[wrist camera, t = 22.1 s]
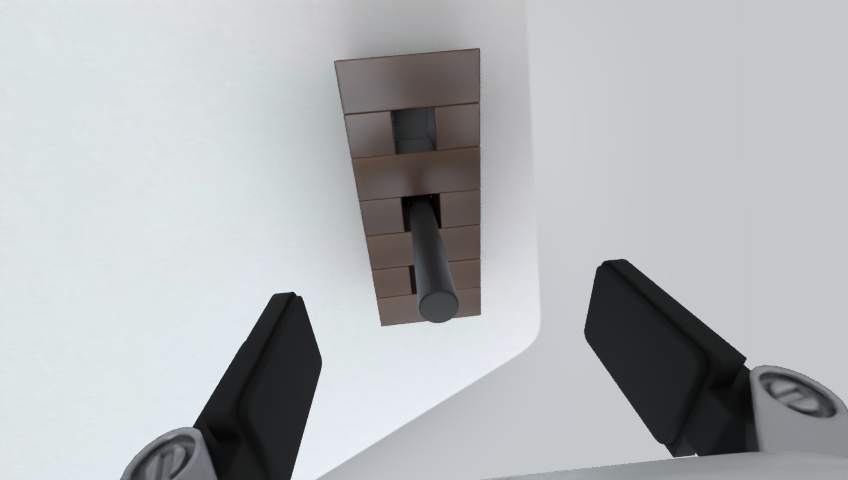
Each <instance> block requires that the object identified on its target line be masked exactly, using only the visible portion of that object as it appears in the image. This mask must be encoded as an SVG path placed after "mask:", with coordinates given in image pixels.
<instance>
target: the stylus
mask: <svg viewBox="0 0 848 480" xmlns="http://www.w3.org/2000/svg"><path fill="white" fill-rule="evenodd" d="M408 201H409V212H410V223H411V233H412V244H413V255H414V266H415V277H416V288H417V298H418V309H419V312H420V314H421V316H422V317H423V318H424V319H426V320H427V321H429V322H433V323H442V322H446V321H448V320H450V319H452V318H453V317H454V316H455V315H456V313H457V312H458V309H459V300H458V296H457V293H456V289H455V286H454V282H453V279H452V275H451V271H450V268H449V264H448V261H447V257H446V254H445V250H444V247H443V243H442V240H441V236H440V233H439V229H438V226H437V222H436V219H435V215H434V211H433V208H432V204H431V201H430V197H429V194H424V195H414V196H408Z"/></svg>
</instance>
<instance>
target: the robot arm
mask: <svg viewBox="0 0 848 480" xmlns="http://www.w3.org/2000/svg"><path fill="white" fill-rule="evenodd" d="M584 334H585V338H586V340H587V342H588V343H589V345H590V346H591V348H592V349H593V351H594V352H595V353H596V355H597V356H598V358H599V359H600V361H601V362H602V363H603V365H604V366H605V368H606V369H607V371H608V372H609V373H610V375H611V376H612V378H613V379H614V381H615V382H616V383H617V385H618V386H619V388H620V389H621V391H622V392H623V394H624V395H625V396H626V398H627V399H628V401H629V402H630V404H631V405H632V406H633V408H634V409H635V411H636V412H637V413H638V415H639V416H640V417H641V419H642V421H643V422H644V424H645V425H646V426H647V428H648V429H649V431H650V432H651V434H652V435H653V436H654V438H655V439H656V440H657V441H658V442H659V443H661V444H664V445H665V446H666V448H667V449H668V450H669V452H670V453H671V455H672V456H673V457H682V456H691V455H695V453H696V454H697V455H698V456H699V457H688V458H678V459H668V460H658V461H649V462H640V463H630V464H621V465H611V466H602V467H592V468H583V469H573V470H565V471H555V472H546V473H538V474H528V475H519V476H510V477H501V478H492V479H484V480H848V409H847V407H846V406H845V404H844V403H843V401H842V400H841V399H840V398H839V397H837V395H835V394H834V393H833V392H832V391H831V390H829V389H828V388H826V387H825V386H823V385H822V384H820V383H819V382H817V381H815V380H813V379H811V378H809V377H807V376H805V375H803V374H801V373H798V372H795V371H793V370H790V369H786V368H782V367H778V366H768V365H763V366H758V367H755V368H754V369H753V370H749V369H748V368H747V367H746V366H745V365H743V364H744V363H745V361H746V357H744V356H743V355H742V354H741V353H740V352H738V351H737V350H736V349H735V348H734V347H732V346H731V345H730V344H729V343H727V342H726V341H725V340H724V339H722V338H721V337H720V336H719V335H718V334H716V333H715V332H714V331H713V330H712V329H710V328H709V327H708V326H707V325H705V324H704V323H703V322H702V321H701V320H699V319H698V318H697V317H696V316H694V315H693V314H692V313H690V311H688V310H687V309H686V308H685V307H683V306H682V305H681V304H680V303H678V302H677V301H676V300H675V299H673V298H672V297H671V296H670V295H668V294H667V293H666V292H665V291H664V290H662V289H661V288H660V287H659V286H658V285H656V284H655V283H654V282H653V281H652V280H650V279H649V278H648V277H646V276H645V275H644V274H643V273H642V272H641V271H639V270H638V269H637V268H636V267H634V266H633V265H632V264H631V263H629V262H628V261H627V260H625V259H618V260H608V261H604V262H603V263H602V265H601V266H599V267H598V268H597V270H596V275H595V279H594V284H593V289H592V294H591V299H590V304H589V309H588V314H587V319H586V324H585V329H584ZM321 367H322V359H321V355H320V352H319V349H318V345H317V342H316V339H315V336H314V333H313V330H312V326H311V323H310V320H309V317H308V314H307V311H306V308H305V304H304V301H303V299H302V297H301V296H297V295H296V294H295V293H294V292H288V293H278V294H274V295H273V296H272V297H271V299H270V301H269V303H268V304H267V306H266V308H265V309H264V311H263V313H262V314H261V316H260V318H259V319H258V321H257V323H256V324H255V326H254V328H253V329H252V331H251V333H250V335H249V336H248V338H247V340H246V341H245V342H244V343H243V344H242V346H241V347H240V349H239V350H238V352H237V354H236V355H235V357H234V359H233V360H232V362H231V364H230V365H229V367H228V369H227V370H226V372H225V374H224V375H223V377H222V379H221V380H220V382H219V384H218V385H217V387H216V389H215V390H214V392H213V394H212V395H211V397H210V399H209V400H208V402H207V404H206V405H205V407H204V409H203V410H202V412H201V414H200V415H199V417H198V419H197V420H196V422H195V424H194V425H193V427H182V428H179V429H175V430H172V431H169V432H167V433H165V434H163V435H161V436H160V437H158V438H156V439H155V440H154V441H152V442H151V443H149V444H148V445H147V446H145V447H144V448H143V449H142V450H141V451H140V452H139V453H138V454H137V455H136V456H135V457H134V458H133V460H132V461H131V462H130V463H129V465H128V466H127V467H126V469H125V471H124V473H123V475H122V477H121V479H120V480H290V479H291V476H292V472H293V469H294V465H295V462H296V458H297V454H298V451H299V447H300V444H301V440H302V436H303V433H304V429H305V426H306V422H307V418H308V415H309V411H310V408H311V404H312V400H313V397H314V393H315V390H316V386H317V383H318V379H319V375H320V372H321Z"/></svg>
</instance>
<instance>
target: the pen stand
mask: <svg viewBox="0 0 848 480" xmlns="http://www.w3.org/2000/svg"><path fill="white" fill-rule="evenodd" d="M334 64H335V70H336V75H337V81H338V87H339V92H340V98H341V103H342V109H343V114H344V120H345V126H346V131H347V137H348V142H349V148H350V154H351V158H352V165H353V170H354V176H355V182H356V187H357V193H358V198H359V204H360V209H361V215H362V220H363V226H364V232H365V236H366V242H367V248H368V253H369V259H370V265H371V269H372V276H373V281H374V287H375V292H376V297H377V304H378V310H379V315H380V321H381V326H388V325H397V324H406V323H415V322H424V321H427V320H426V319H424V318H423V317H422V316H421V314H420V312H419V309H418V298H417V288H416V277H415V266H414V255H413V244H412V233H411V223H410V212H409V205H404V204H403V197H404V196H414V195H424V194H433V202H434V203H431V204H432V208H433V211H434V215H435V219H436V222H437V226H438V229H439V233H440V236H441V240H442V243H443V247H444V250H445V254H446V257H447V261H448V264H449V268H450V271H451V275H452V279H453V282H454V286H455V289H456V293H457V296H458V300H459V309H458V312H457V313H456V315H455V316H454V317H453V318H459V317H468V316H477V315H481V287H480V103H479V102H480V49H479V48H476V49H464V50H452V51H441V52H429V53H418V54H406V55H395V56H383V57H372V58H360V59H348V60H337V61H334ZM423 107H427V117H428V131H429V138H421V139H410V140H400V141H396V134H395V125H394V117H393V110H401V109H412V108H423Z"/></svg>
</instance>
